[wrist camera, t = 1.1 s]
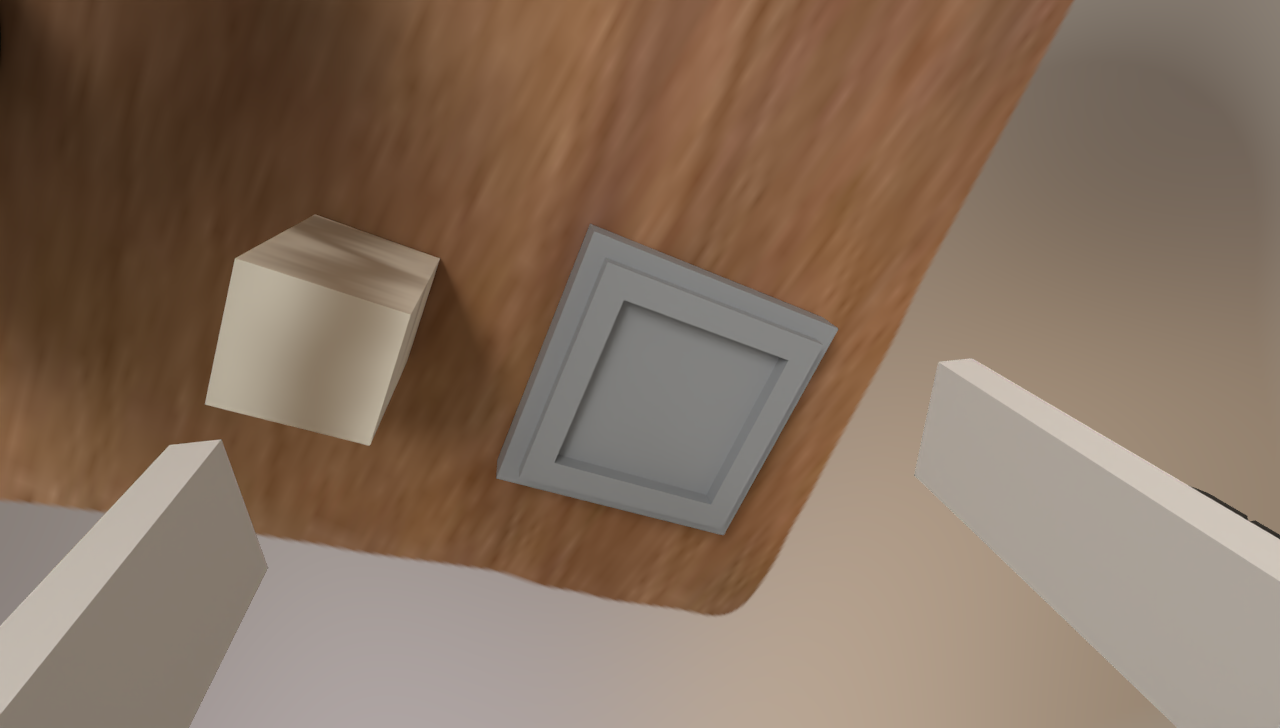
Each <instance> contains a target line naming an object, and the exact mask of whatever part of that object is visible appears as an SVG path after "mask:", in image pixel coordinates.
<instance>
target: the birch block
mask: <svg viewBox="0 0 1280 728" xmlns="http://www.w3.org/2000/svg"><path fill="white" fill-rule="evenodd" d="M439 260H440V258H437V257H434V256H432V255H429V254H426V253H423V252H420V251H418V250H415V249H412V248H409V247H406V246H403V245H401V244H398V243H395V242H392V241H389V240H386V239H384V238H381V237H378V236H375V235H372V234H369V233H367V232H364V231H361V230H358V229H355V228H353V227H350V226H347V225H344V224H341V223H338V222H336V221H333V220H330V219H327V218H324V217H321V216H319V215H316V214H315V215H313V216H311V217H309V218H307V219H306V220H304V221H302V222H300V223H298V224H296V225H295V226H293V227H291V228H289V229H287V230H286V231H284V232H282V233H280V234H278V235H276V236H275V237H273V238H271V239H269V240H267V241H265V242H264V243H262V244H260V245H258V246H256V247H255V248H253V249H251V250H249V251H247V252H245V253H244V254H242V255H240V256H238V257H236V258H235V261H234V266H233V270H232V275H231V280H230V285H229V290H228V295H227V299H226V304H225V309H224V314H223V319H222V323H221V328H220V333H219V338H218V343H217V348H216V352H215V357H214V362H213V367H212V372H211V377H210V381H209V386H208V391H207V396H206V401H205V405H209V406H213V407H217V408H221V409H225V410H229V411H233V412H237V413H241V414H245V415H249V416H253V417H257V418H261V419H265V420H269V421H273V422H277V423H281V424H285V425H289V426H293V427H297V428H301V429H305V430H309V431H313V432H317V433H321V434H325V435H329V436H333V437H337V438H341V439H345V440H349V441H353V442H357V443H361V444H365V445H369V446H370V444H371V442H372V440H373V438H374V435H375V433H376V431H377V429H378V426H379V424H380V422H381V420H382V417H383V415H384V413H385V410H386V408H387V406H388V404H389V401H390V399H391V397H392V395H393V392H394V390H395V388H396V386H397V383H398V381H399V379H400V376H401V374H402V372H403V370H404V367H405V365H406V363H407V361H408V358H409V354H410V351H411V348H412V345H413V342H414V339H415V336H416V332H417V329H418V326H419V323H420V320H421V317H422V314H423V310H424V307H425V304H426V301H427V298H428V295H429V292H430V289H431V285H432V282H433V279H434V276H435V273H436V270H437V267H438V263H439Z"/></svg>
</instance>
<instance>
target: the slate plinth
mask: <svg viewBox="0 0 1280 728" xmlns="http://www.w3.org/2000/svg"><path fill="white" fill-rule="evenodd" d="M837 331H838V328H837V327H835V326H834V325H833V324H831V323H830V322H828V321H827V320H826V319H824V318H823V317H820V316H818V315H815V314H813V313H810V312H808V311H806V310H803V309H801V308H798V307H796V306H793V305H791V304H788V303H786V302H783V301H781V300H778V299H776V298H773V297H771V296H768V295H766V294H763V293H761V292H758V291H756V290H753V289H751V288H748V287H746V286H743V285H741V284H738V283H736V282H734V281H731V280H729V279H726V278H724V277H721V276H719V275H716V274H714V273H711V272H709V271H706V270H704V269H701V268H699V267H696V266H694V265H691V264H689V263H686V262H684V261H681V260H679V259H676V258H674V257H671V256H669V255H666V254H664V253H662V252H659V251H657V250H654V249H652V248H649V247H647V246H644V245H642V244H639V243H637V242H634V241H632V240H629V239H627V238H624V237H622V236H619V235H617V234H614V233H612V232H609V231H607V230H604V229H602V228H599V227H597V226H594V225H592V224H590V225H589V228H588V231H587V233H586V236H585V238H584V241H583V243H582V246H581V248H580V251H579V253H578V256H577V259H576V261H575V264H574V266H573V269H572V271H571V274H570V276H569V279H568V281H567V284H566V287H565V289H564V292H563V294H562V297H561V299H560V302H559V304H558V307H557V309H556V312H555V315H554V317H553V320H552V322H551V325H550V327H549V330H548V332H547V335H546V337H545V340H544V343H543V345H542V348H541V350H540V353H539V355H538V358H537V360H536V363H535V365H534V368H533V371H532V373H531V376H530V378H529V381H528V383H527V386H526V388H525V391H524V393H523V396H522V399H521V401H520V404H519V406H518V409H517V411H516V414H515V416H514V419H513V421H512V424H511V427H510V429H509V432H508V434H507V437H506V439H505V442H504V444H503V447H502V449H501V452H500V455H499V457H498V460H497V475H496V478H497V479H501V480H505V481H509V482H513V483H517V484H521V485H525V486H529V487H533V488H537V489H541V490H545V491H549V492H553V493H557V494H561V495H565V496H569V497H573V498H577V499H581V500H585V501H589V502H593V503H597V504H601V505H604V506H608V507H612V508H616V509H620V510H624V511H628V512H632V513H636V514H640V515H644V516H648V517H652V518H656V519H660V520H664V521H668V522H672V523H676V524H680V525H684V526H688V527H692V528H696V529H700V530H704V531H708V532H712V533H716V534H720V535H724V534H725V532H726V530H727V528H728V527H729V525H730V523H731V521H732V519H733V518H734V516H735V514H736V512H737V510H738V509H739V507H740V505H741V503H742V501H743V500H744V498H745V496H746V494H747V492H748V491H749V489H750V487H751V485H752V483H753V482H754V480H755V478H756V476H757V474H758V473H759V471H760V469H761V467H762V465H763V464H764V462H765V460H766V458H767V456H768V455H769V453H770V451H771V449H772V447H773V446H774V444H775V442H776V440H777V438H778V437H779V435H780V433H781V431H782V429H783V428H784V426H785V424H786V422H787V420H788V419H789V417H790V415H791V413H792V412H793V410H794V408H795V406H796V404H797V403H798V401H799V399H800V397H801V395H802V394H803V392H804V390H805V388H806V386H807V385H808V383H809V381H810V379H811V377H812V376H813V374H814V372H815V370H816V368H817V367H818V365H819V363H820V361H821V359H822V358H823V356H824V354H825V352H826V350H827V349H828V347H829V345H830V343H831V341H832V340H833V338H834V336H835V334H836V332H837Z"/></svg>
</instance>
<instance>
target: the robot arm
mask: <svg viewBox="0 0 1280 728" xmlns="http://www.w3.org/2000/svg"><path fill="white" fill-rule="evenodd" d="M0 50H1V33H0ZM914 476H915V477H916V478H917V479H919V480H920V481H921V482H922V483H923V484H924V485H925V486H926V487H927V488H928V489H929V490H930V491H931V492H932V493H933V494H934V495H935V496H936V497H937V498H938V499H939V500H940V501H942V503H944V504H945V505H946V506H947V507H948V508H949V509H950V510H951V511H952V512H953V513H954V514H955V515H956V516H957V517H958V518H959V519H960V520H961V521H962V522H963V523H964V524H965V525H967V527H969V528H970V529H971V530H972V531H973V532H974V533H975V534H976V535H977V536H978V537H979V538H980V539H981V540H982V541H983V542H984V543H985V544H986V545H987V546H988V547H989V548H990V549H991V550H993V551H994V552H995V553H996V554H997V555H998V556H999V557H1000V558H1001V559H1002V560H1003V561H1004V562H1005V563H1006V564H1007V565H1008V566H1009V567H1010V568H1011V569H1012V570H1013V571H1014V572H1016V574H1018V575H1019V576H1020V577H1021V578H1022V579H1023V580H1024V581H1025V582H1026V583H1027V584H1028V585H1029V586H1030V587H1031V588H1032V589H1033V590H1034V591H1035V592H1036V593H1037V594H1038V595H1040V597H1042V598H1043V599H1044V600H1045V601H1046V602H1047V603H1048V604H1049V605H1050V606H1051V607H1052V608H1053V609H1054V610H1055V611H1056V612H1057V613H1058V614H1059V615H1060V616H1061V617H1062V618H1063V619H1064V620H1066V621H1067V622H1068V623H1069V624H1070V625H1071V626H1072V627H1073V628H1074V629H1075V630H1076V631H1077V632H1078V633H1079V634H1080V635H1081V636H1082V637H1083V638H1084V639H1085V640H1087V642H1088V643H1089V644H1091V645H1092V646H1093V647H1094V648H1095V649H1096V650H1097V651H1098V652H1099V653H1100V654H1101V655H1102V656H1103V657H1105V659H1106V660H1107V661H1108V662H1109V663H1110V664H1111V665H1113V667H1115V668H1116V669H1117V670H1118V671H1119V672H1120V673H1121V674H1122V675H1123V676H1124V677H1125V678H1126V679H1127V680H1128V681H1129V682H1130V683H1131V684H1132V685H1133V686H1134V687H1135V688H1137V689H1138V690H1139V691H1140V692H1141V693H1142V694H1143V695H1144V696H1145V697H1146V698H1147V699H1148V700H1149V701H1150V702H1151V703H1152V704H1153V705H1154V706H1155V707H1156V708H1157V709H1158V710H1159V711H1160V712H1161V713H1162V714H1164V715H1165V716H1166V717H1167V718H1168V719H1169V720H1170V721H1171V722H1172V723H1173V724H1174V725H1175V726H1176V727H1177V728H1280V535H1279V534H1277V533H1276V532H1274V531H1272V530H1270V529H1269V528H1267V527H1265V526H1264V525H1262V524H1260V523H1258V522H1257V521H1249V520H1248V518H1247V516H1246V515H1245V514H1243V513H1241V512H1240V511H1238V510H1236V509H1234V508H1232V507H1231V506H1229V505H1228V504H1226V503H1224V502H1222V501H1221V500H1219V499H1217V498H1216V497H1214V496H1212V495H1210V494H1208V493H1206V492H1204V491H1201V490H1199V489H1196V488H1194V487H1191V486H1189V485H1187V484H1185V483H1183V482H1181V481H1180V480H1178V479H1176V478H1174V477H1173V476H1171V475H1169V474H1168V473H1166V472H1164V471H1163V470H1161V469H1159V468H1158V467H1156V466H1154V465H1153V464H1151V463H1149V462H1147V461H1146V460H1144V459H1142V458H1141V457H1139V456H1137V455H1135V454H1134V453H1132V452H1130V451H1129V450H1127V449H1125V448H1124V447H1122V446H1120V445H1119V444H1117V443H1115V442H1113V441H1112V440H1110V439H1108V438H1107V437H1105V436H1103V435H1102V434H1100V433H1098V432H1096V431H1095V430H1093V429H1091V428H1090V427H1088V426H1086V425H1085V424H1083V423H1081V422H1079V421H1078V420H1076V419H1074V418H1072V417H1071V416H1069V415H1068V414H1066V413H1064V412H1062V411H1061V410H1059V409H1057V408H1056V407H1054V406H1052V405H1051V404H1049V403H1047V402H1045V401H1044V400H1042V399H1040V398H1039V397H1037V396H1035V395H1033V394H1032V393H1030V392H1028V391H1027V390H1025V389H1023V388H1022V387H1020V386H1018V385H1016V384H1015V383H1013V382H1011V381H1009V380H1008V379H1006V378H1005V377H1003V376H1001V375H999V374H998V373H996V372H994V371H993V370H991V369H989V368H988V367H986V366H984V365H983V364H981V363H979V362H977V361H976V360H974V359H971V358H970V359H961V360H952V361H943V362H938V366H937V370H936V375H935V380H934V385H933V389H932V394H931V399H930V404H929V408H928V413H927V418H926V423H925V427H924V432H923V436H922V442H921V446H920V451H919V455H918V460H917V465H916V469H915V474H914ZM267 569H268V567H267V564H266V561H265V558H264V555H263V553H262V550H261V547H260V544H259V542H258V539H257V536H256V533H255V531H254V528H253V525H252V522H251V520H250V517H249V514H248V511H247V509H246V506H245V503H244V500H243V497H242V495H241V492H240V489H239V486H238V484H237V481H236V478H235V475H234V473H233V470H232V467H231V464H230V462H229V459H228V456H227V453H226V451H225V448H224V445H223V442H222V439H221V440H211V441H202V442H193V443H184V444H174V445H169V446H168V447H167V448H166V449H165V450H164V451H163V452H162V454H161V455H160V456H159V457H158V458H157V459H156V460H155V461H154V462H153V463H152V464H151V465H150V466H149V467H148V468H147V470H146V471H145V472H144V473H143V474H142V475H141V476H140V477H139V478H138V479H137V480H136V481H135V482H134V483H133V485H132V486H131V487H130V488H129V489H128V490H127V491H126V492H125V493H124V494H123V495H122V496H121V497H120V498H119V499H118V501H117V502H116V503H115V504H114V505H113V506H112V507H111V508H110V509H109V510H108V511H107V512H106V513H105V514H104V516H103V517H102V518H101V519H100V520H99V521H98V522H97V523H96V524H95V525H94V526H93V527H92V528H91V529H90V530H89V532H88V533H87V534H86V535H85V536H84V537H83V538H82V539H81V540H80V541H79V542H78V543H77V544H76V545H75V547H74V548H73V549H72V550H71V551H70V552H69V553H68V554H67V555H66V556H65V557H64V558H63V559H62V560H61V561H60V563H59V564H58V565H57V566H56V567H55V568H54V569H53V570H52V571H51V572H50V573H49V574H48V575H47V576H46V578H45V579H44V580H43V581H42V582H41V583H40V584H39V585H38V586H37V587H36V588H35V589H34V590H33V591H32V593H31V594H30V595H29V596H28V597H27V598H26V599H25V600H24V601H23V602H22V603H21V604H20V605H19V606H18V607H17V608H16V610H15V611H14V612H13V613H12V614H11V615H10V616H9V617H8V618H7V619H6V621H4V622H3V623H2V625H1V626H0V728H189V726H190V724H191V722H192V720H193V718H194V716H195V714H196V712H197V710H198V708H199V706H200V704H201V702H202V700H203V698H204V696H205V694H206V692H207V690H208V688H209V686H210V684H211V682H212V680H213V678H214V676H215V674H216V672H217V670H218V668H219V666H220V663H221V662H222V660H223V658H224V656H225V653H226V651H227V650H228V648H229V645H230V644H231V641H232V639H233V637H234V635H235V633H236V631H237V629H238V627H239V625H240V623H241V621H242V619H243V617H244V615H245V613H246V611H247V609H248V607H249V605H250V603H251V601H252V599H253V597H254V595H255V593H256V591H257V589H258V587H259V585H260V583H261V581H262V579H263V577H264V575H265V573H266V571H267Z"/></svg>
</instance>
